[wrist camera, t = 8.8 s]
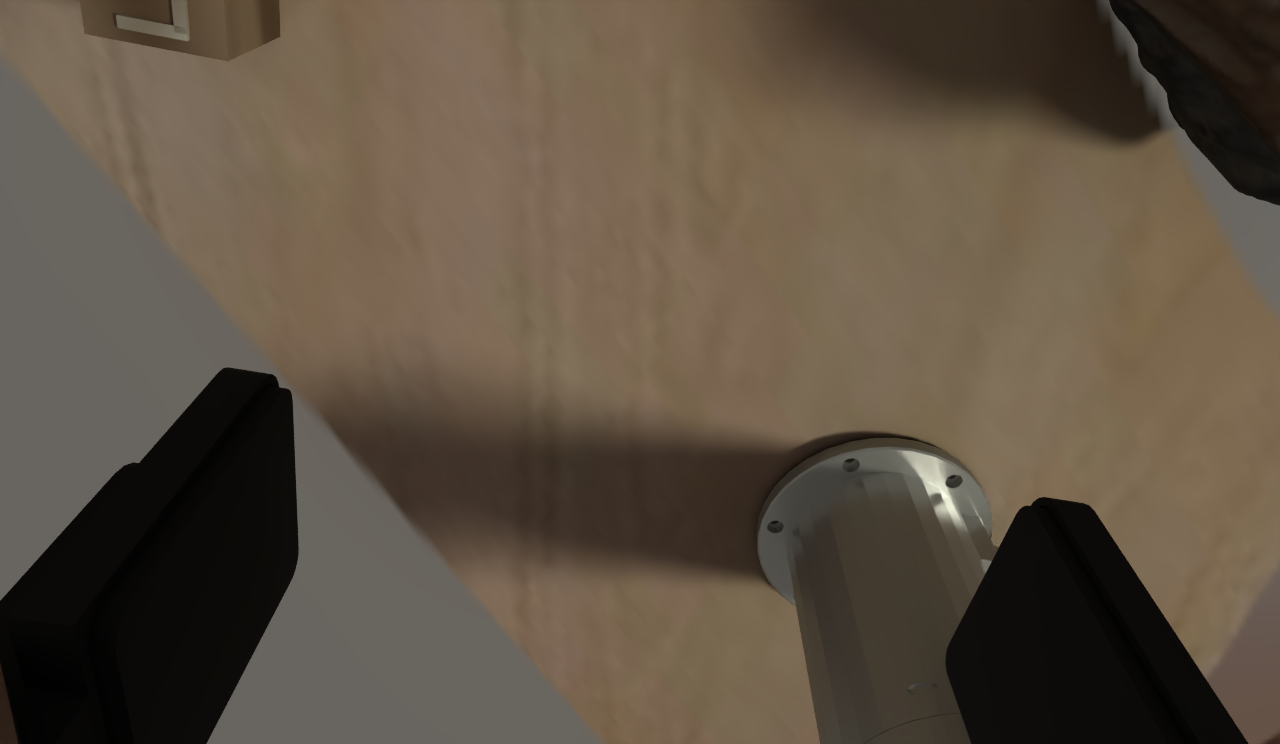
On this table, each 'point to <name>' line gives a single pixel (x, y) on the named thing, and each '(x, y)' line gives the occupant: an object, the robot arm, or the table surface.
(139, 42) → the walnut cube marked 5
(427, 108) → the table surface
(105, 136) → the table surface
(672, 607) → the table surface
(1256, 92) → the dark rough rock
